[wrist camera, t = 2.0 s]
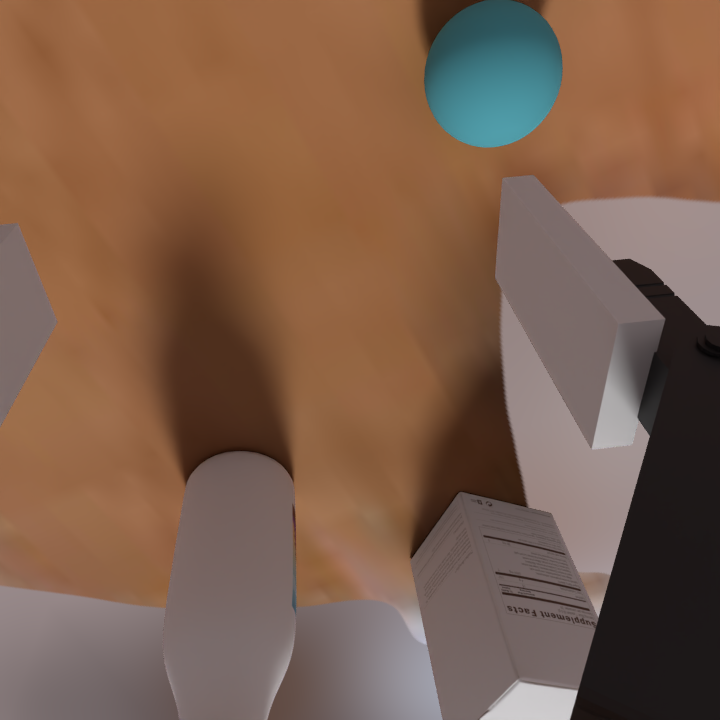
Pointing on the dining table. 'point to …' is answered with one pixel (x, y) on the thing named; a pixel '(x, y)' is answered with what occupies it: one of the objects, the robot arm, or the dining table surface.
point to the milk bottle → (232, 589)
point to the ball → (493, 73)
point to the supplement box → (502, 612)
